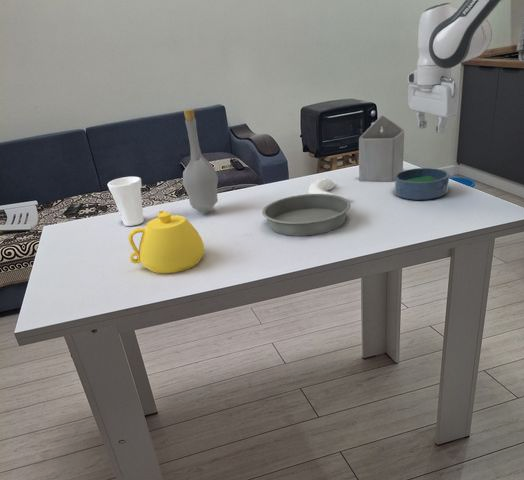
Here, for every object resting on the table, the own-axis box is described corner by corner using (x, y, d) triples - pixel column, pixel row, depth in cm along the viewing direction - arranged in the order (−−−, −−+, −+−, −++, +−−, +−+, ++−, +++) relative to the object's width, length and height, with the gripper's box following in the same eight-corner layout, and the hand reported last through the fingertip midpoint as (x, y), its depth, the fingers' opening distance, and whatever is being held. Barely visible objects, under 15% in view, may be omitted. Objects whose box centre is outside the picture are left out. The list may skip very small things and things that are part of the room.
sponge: (428, 187, 165) (428, 175, 163) (436, 191, 161) (437, 179, 159) (404, 191, 164) (404, 180, 162) (412, 196, 160) (413, 184, 158)
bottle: (229, 212, 166) (214, 108, 150) (196, 222, 162) (177, 115, 146) (214, 204, 174) (199, 105, 158) (182, 213, 170) (163, 111, 154)
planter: (369, 186, 174) (370, 122, 163) (358, 180, 180) (358, 119, 170) (414, 177, 177) (417, 114, 167) (401, 172, 184) (404, 111, 173)
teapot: (211, 267, 132) (203, 217, 125) (134, 283, 129) (121, 232, 122) (198, 240, 148) (190, 195, 141) (130, 253, 145) (118, 207, 138)
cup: (141, 215, 173) (132, 174, 166) (155, 222, 165) (146, 179, 158) (113, 224, 168) (102, 182, 161) (125, 231, 161) (115, 188, 154)
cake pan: (345, 204, 161) (345, 189, 159) (356, 233, 141) (356, 217, 138) (264, 212, 163) (262, 197, 160) (263, 242, 142) (261, 226, 140)
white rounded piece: (319, 187, 179) (362, 187, 173) (301, 208, 165) (347, 210, 159) (318, 172, 176) (362, 172, 171) (300, 193, 162) (347, 194, 157)
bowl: (450, 186, 165) (452, 168, 162) (442, 202, 154) (444, 183, 151) (401, 185, 171) (401, 167, 169) (389, 200, 160) (390, 182, 157)
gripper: (466, 76, 136) (462, 133, 143) (424, 72, 153) (422, 123, 160) (444, 80, 135) (441, 137, 142) (404, 75, 152) (403, 127, 159)
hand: (431, 130), depth 151 cm, fingers open, 8 cm apart
